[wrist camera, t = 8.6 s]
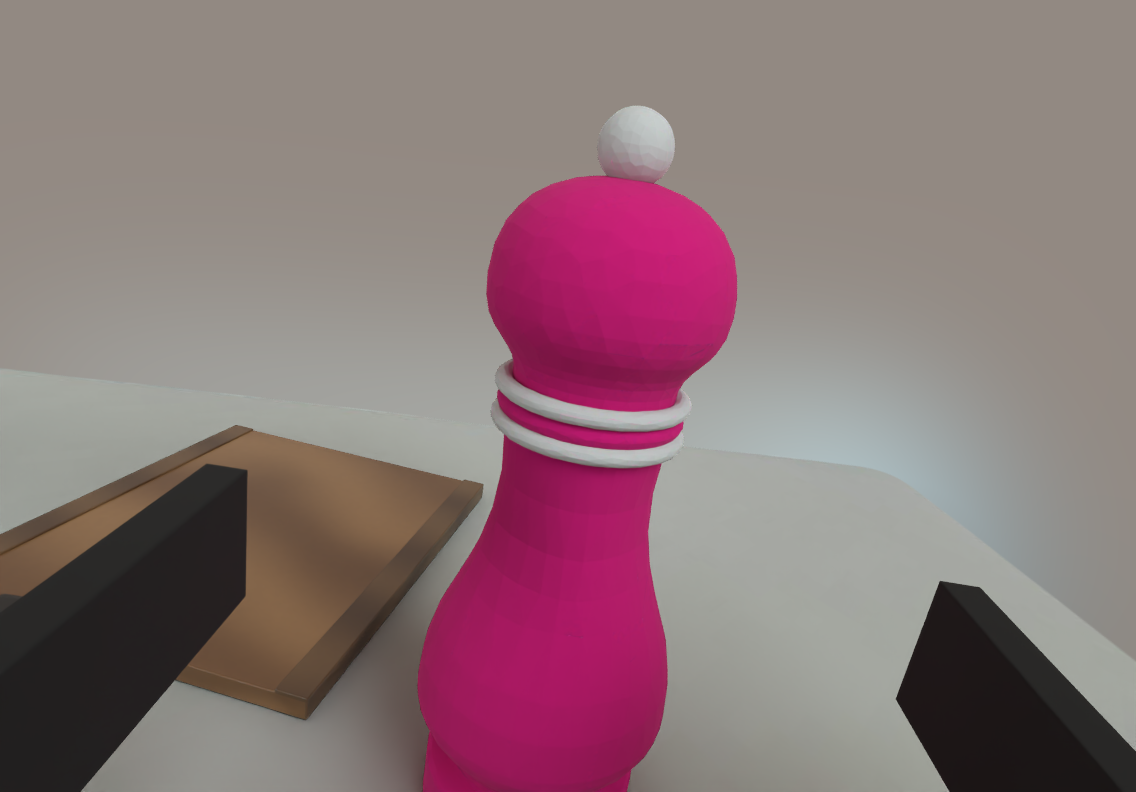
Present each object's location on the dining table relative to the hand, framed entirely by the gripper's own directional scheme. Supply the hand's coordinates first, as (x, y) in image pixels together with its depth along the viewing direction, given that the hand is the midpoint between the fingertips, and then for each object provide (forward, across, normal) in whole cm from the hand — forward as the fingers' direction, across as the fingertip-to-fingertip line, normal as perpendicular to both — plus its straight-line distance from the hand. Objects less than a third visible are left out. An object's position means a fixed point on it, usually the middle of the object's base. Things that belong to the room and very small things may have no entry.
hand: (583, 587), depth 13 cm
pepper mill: (+5, 0, -11) cm, 12 cm away
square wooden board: (+17, -14, -11) cm, 24 cm away
